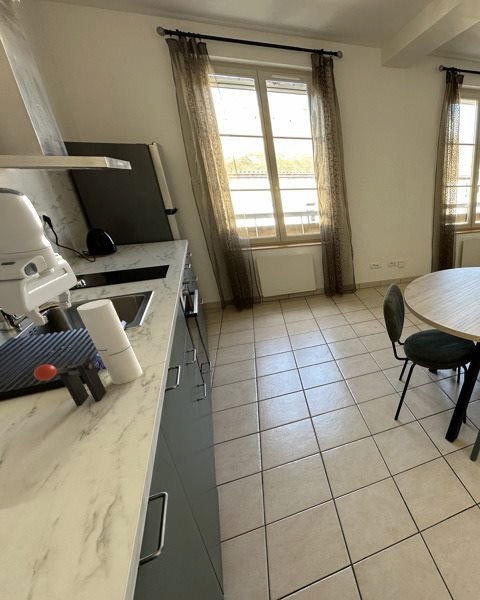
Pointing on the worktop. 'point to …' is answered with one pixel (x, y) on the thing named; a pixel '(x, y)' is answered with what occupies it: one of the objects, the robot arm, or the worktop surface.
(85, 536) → the worktop surface
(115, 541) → the worktop surface
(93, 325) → the cylindrical container
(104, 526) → the worktop surface
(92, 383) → the toaster bracket
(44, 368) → the lever
